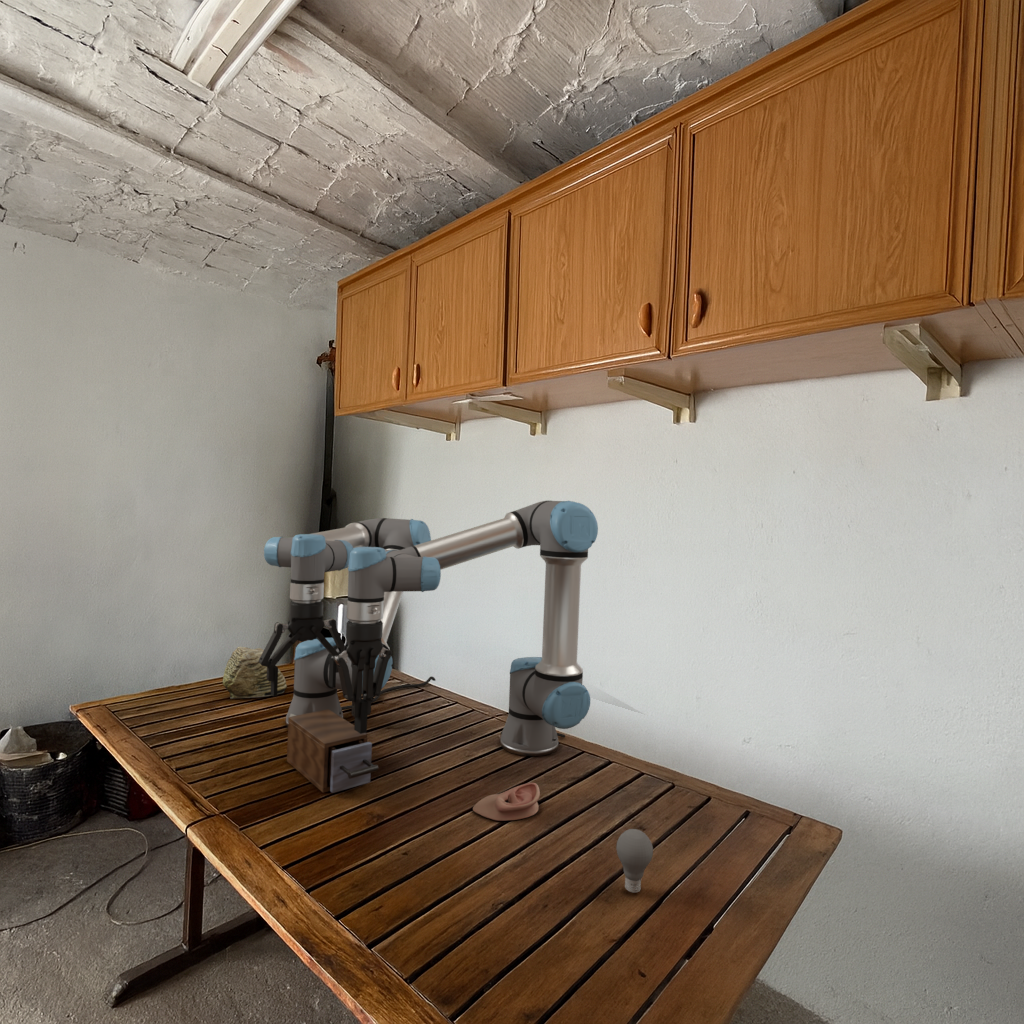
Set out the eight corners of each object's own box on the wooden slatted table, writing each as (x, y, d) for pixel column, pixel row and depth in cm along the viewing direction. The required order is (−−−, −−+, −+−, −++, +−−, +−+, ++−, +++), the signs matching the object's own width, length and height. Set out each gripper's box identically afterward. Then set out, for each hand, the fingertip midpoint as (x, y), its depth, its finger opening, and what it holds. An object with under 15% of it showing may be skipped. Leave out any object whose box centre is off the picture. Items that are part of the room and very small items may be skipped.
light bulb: (610, 879, 108) (613, 822, 108) (644, 879, 109) (647, 822, 109) (619, 902, 102) (622, 840, 102) (655, 901, 103) (658, 840, 103)
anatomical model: (469, 797, 128) (483, 773, 139) (468, 816, 128) (482, 791, 139) (534, 806, 125) (543, 781, 136) (533, 826, 125) (542, 799, 136)
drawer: (382, 791, 135) (384, 751, 135) (344, 803, 130) (345, 761, 129) (332, 754, 153) (334, 718, 153) (296, 763, 148) (298, 725, 147)
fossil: (218, 695, 195) (220, 647, 195) (278, 685, 208) (279, 640, 207) (228, 703, 189) (230, 653, 188) (289, 692, 201) (290, 645, 201)
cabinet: (365, 780, 142) (367, 733, 142) (323, 792, 136) (324, 743, 135) (326, 751, 157) (328, 709, 157) (286, 761, 151) (288, 716, 150)
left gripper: (254, 606, 138) (251, 703, 138) (363, 599, 152) (360, 687, 153) (246, 601, 144) (243, 693, 144) (351, 595, 159) (348, 679, 159)
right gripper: (344, 626, 127) (339, 743, 127) (400, 620, 135) (396, 729, 136) (328, 620, 132) (323, 732, 133) (383, 614, 141) (379, 719, 141)
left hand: (303, 690), depth 149 cm, fingers open, 13 cm apart
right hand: (360, 730), depth 134 cm, fingers closed
